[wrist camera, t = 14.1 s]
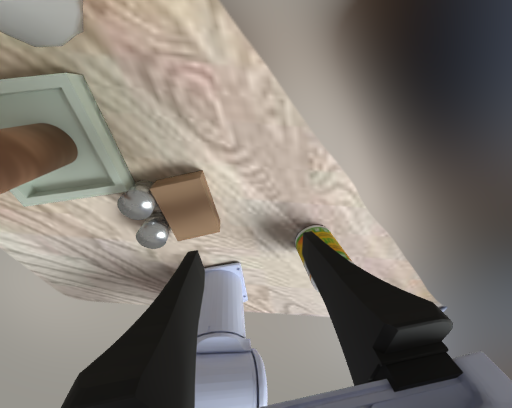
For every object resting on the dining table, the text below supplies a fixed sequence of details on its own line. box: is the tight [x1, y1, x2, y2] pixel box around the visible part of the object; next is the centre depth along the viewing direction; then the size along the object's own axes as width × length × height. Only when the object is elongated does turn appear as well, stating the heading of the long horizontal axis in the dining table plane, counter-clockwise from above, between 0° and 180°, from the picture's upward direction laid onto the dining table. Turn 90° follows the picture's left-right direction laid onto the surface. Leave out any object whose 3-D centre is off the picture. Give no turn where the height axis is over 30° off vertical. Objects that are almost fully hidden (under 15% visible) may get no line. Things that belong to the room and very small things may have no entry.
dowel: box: [0, 123, 78, 194], centre depth 13 cm, size 4×4×8 cm
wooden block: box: [150, 170, 220, 241], centre depth 21 cm, size 7×5×2 cm
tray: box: [0, 73, 135, 207], centre depth 16 cm, size 10×10×2 cm
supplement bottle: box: [295, 225, 354, 292], centre depth 23 cm, size 5×5×10 cm
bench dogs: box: [118, 180, 171, 249], centre depth 20 cm, size 7×3×3 cm, turn 6°
